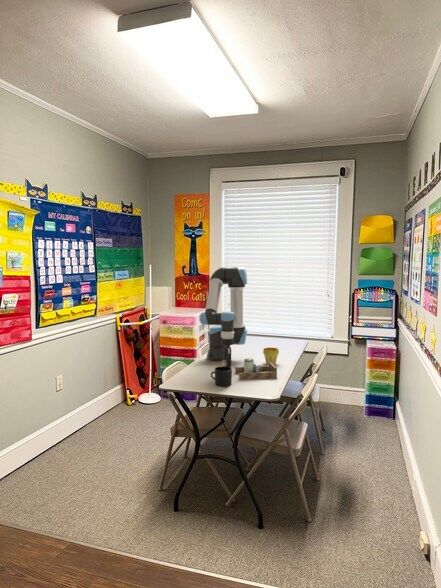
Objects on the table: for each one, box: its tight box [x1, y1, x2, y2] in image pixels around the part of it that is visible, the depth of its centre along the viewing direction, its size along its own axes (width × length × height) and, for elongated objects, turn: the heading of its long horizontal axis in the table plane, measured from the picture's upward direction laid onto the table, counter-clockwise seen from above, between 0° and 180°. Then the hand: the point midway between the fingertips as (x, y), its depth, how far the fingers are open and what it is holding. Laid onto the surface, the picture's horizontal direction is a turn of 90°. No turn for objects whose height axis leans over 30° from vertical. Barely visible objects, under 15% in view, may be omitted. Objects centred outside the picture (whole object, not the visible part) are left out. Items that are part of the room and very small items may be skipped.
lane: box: [234, 362, 278, 380], centre depth 246 cm, size 22×14×6 cm, turn 98°
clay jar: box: [221, 359, 233, 378], centre depth 243 cm, size 6×6×10 cm
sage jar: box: [243, 358, 255, 373], centre depth 245 cm, size 6×6×10 cm
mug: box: [210, 366, 232, 388], centre depth 228 cm, size 9×12×9 cm
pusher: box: [254, 360, 262, 372], centre depth 246 cm, size 4×11×7 cm, turn 8°
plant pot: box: [262, 346, 280, 365], centre depth 274 cm, size 10×10×10 cm
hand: (227, 375), depth 243 cm, fingers open, 7 cm apart
